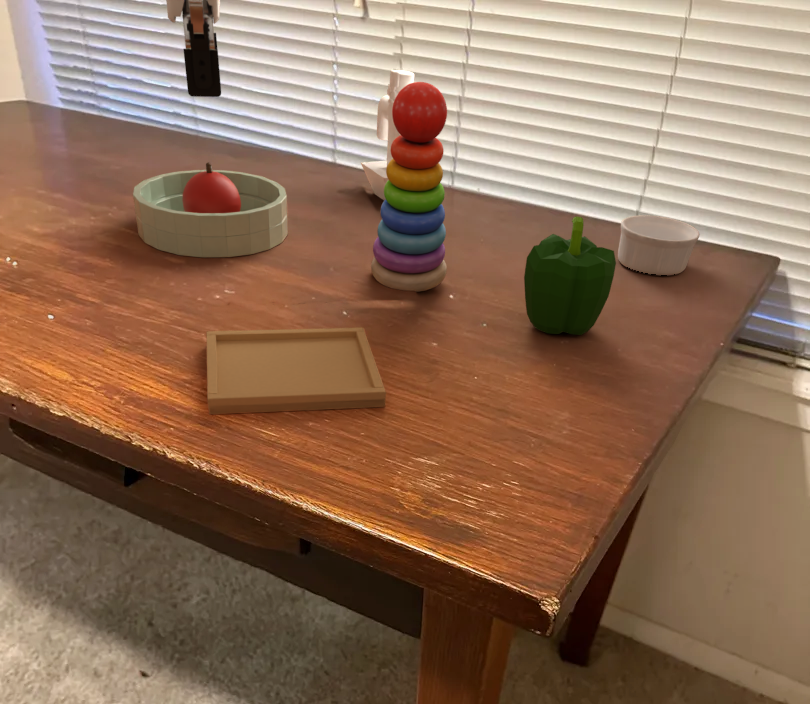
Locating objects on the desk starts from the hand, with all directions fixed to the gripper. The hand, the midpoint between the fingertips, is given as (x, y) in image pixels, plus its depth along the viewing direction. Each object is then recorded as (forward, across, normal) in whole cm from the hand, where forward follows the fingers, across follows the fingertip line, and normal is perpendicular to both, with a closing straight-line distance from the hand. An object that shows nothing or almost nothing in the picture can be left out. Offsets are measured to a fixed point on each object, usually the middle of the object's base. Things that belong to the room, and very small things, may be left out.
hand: (204, 85), depth 84 cm
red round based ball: (+15, 0, 0) cm, 15 cm away
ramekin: (+16, +10, +50) cm, 53 cm away
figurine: (+16, -15, +24) cm, 32 cm away
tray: (+15, +34, +6) cm, 38 cm away
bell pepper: (+16, +26, +32) cm, 45 cm away
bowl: (+15, 0, 0) cm, 15 cm away
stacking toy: (+15, +14, +20) cm, 29 cm away
